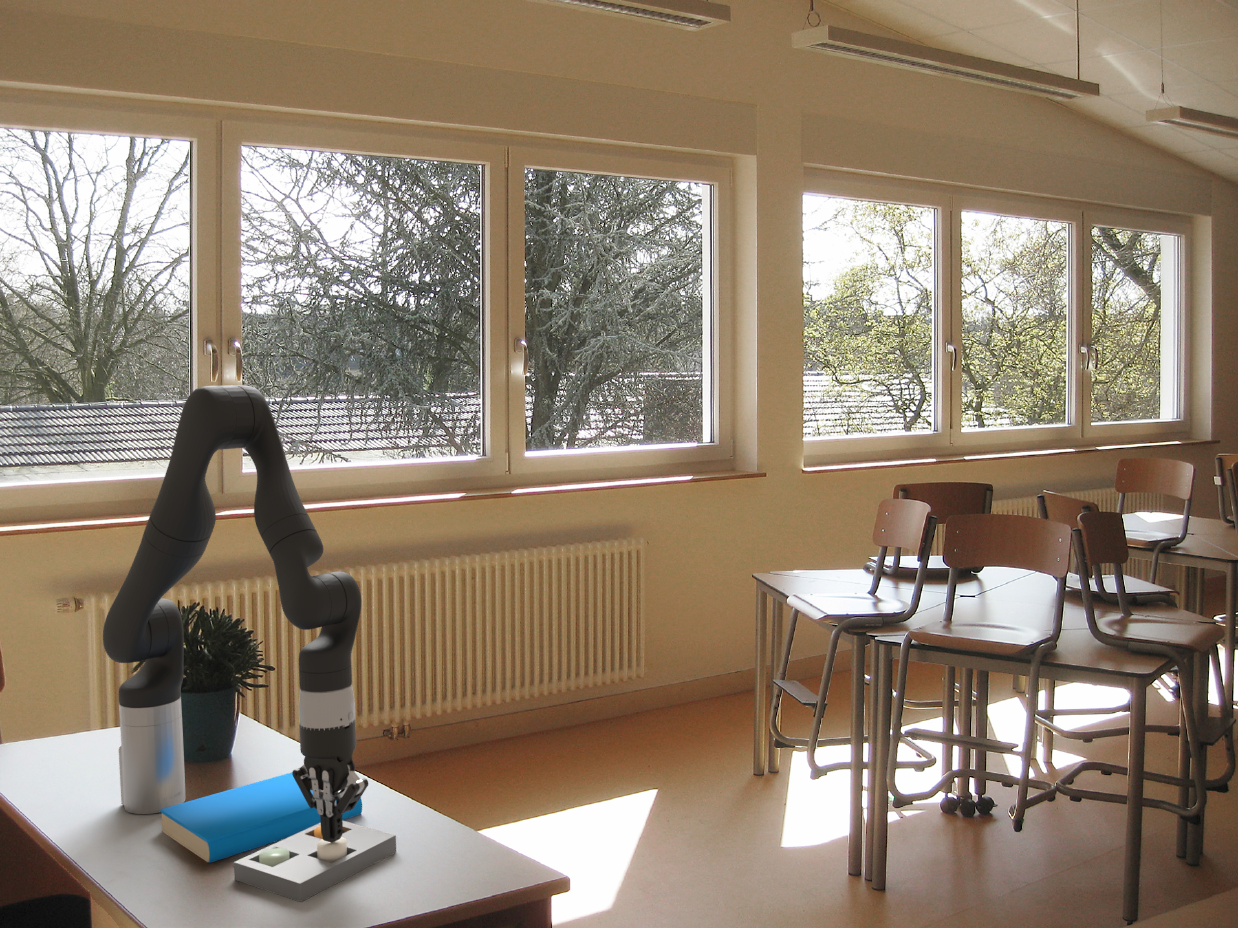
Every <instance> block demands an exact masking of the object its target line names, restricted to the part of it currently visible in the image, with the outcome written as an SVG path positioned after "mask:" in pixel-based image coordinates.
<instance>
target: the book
mask: <svg viewBox="0 0 1238 928" xmlns="http://www.w3.org/2000/svg"><path fill="white" fill-rule="evenodd" d="M292 772H293V771H292ZM292 772H288V773H284V774H281V775H280V774H279V775H277V776H273V777H271V778H266V779H262V780H259V781H256V782H252V783H249V784H245V785H242V786H241V785H240V786H238V787H235V788H232V789H227V790H224V791H220V792H217V793H213V794H210V795H206V796H203V797H199V798H196V799H192V800H189V801H184V803H181V804H177V805H174V806H170V807H167V808H163V809H160V811H161V812H160V813H161V826H162V827H161V829H162V830H161V831H162V833H164V834H165V835H167V836H168V837H169V838H171V839H173V840H174V841H176V843H178V844H180V845H181V846H183V847H185V848H186V849H187V850H189V851H190V852H192V853H193V854H195V855H197V856H198V857H199V858H201V859H202V860H204V862H206V863H208V864H210V863H211V864H212V863H214V862H217V861H220V860H223V859H227V858H230V857H232V856H235V855H238V854H242V853H244V852H248V851H251V850H254V849H257V848H260V847H263V846H266V845H270V844H274V843H277V842H279V841H281V840H284V839H286V838H288V837H290V836H292V835H295V834H297V833H299V832H301V831H303V830H306V829H308V828H310V827H312V826H314V825H317V824H319V823H321V821H320V815H319V814H318V811H317V809H316V808H310V807H309V805H308V803H307V802H306V800H305V798H304V796H303V794H302V792H301V790H300V788H299V786H298V785H297V783H296V781H295V779H294V777H293V775H292ZM311 793H312V795H313V790H311ZM362 812H363V801H362V796H361V797H360V799H359V801H358V802H357V804H356V805H355V807H354V808H353V809H352V810H350V811H347V812H345V813H343V814H342V821H345V820H347V819H350V818H353V817H356V816H360V815H362Z"/></svg>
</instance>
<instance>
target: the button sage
mask: <svg viewBox="0 0 1238 928" xmlns="http://www.w3.org/2000/svg"><path fill="white" fill-rule="evenodd" d="M289 859H290V857H289V850H287V849H284V848H274V849H269V850H266V851H264V852H262V853H261V854H260V855H259V863H261V864H264V865H267V866H271V867H274V866H276V865H278V864H280V863H282V862H284V861H287V860H289Z"/></svg>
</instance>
